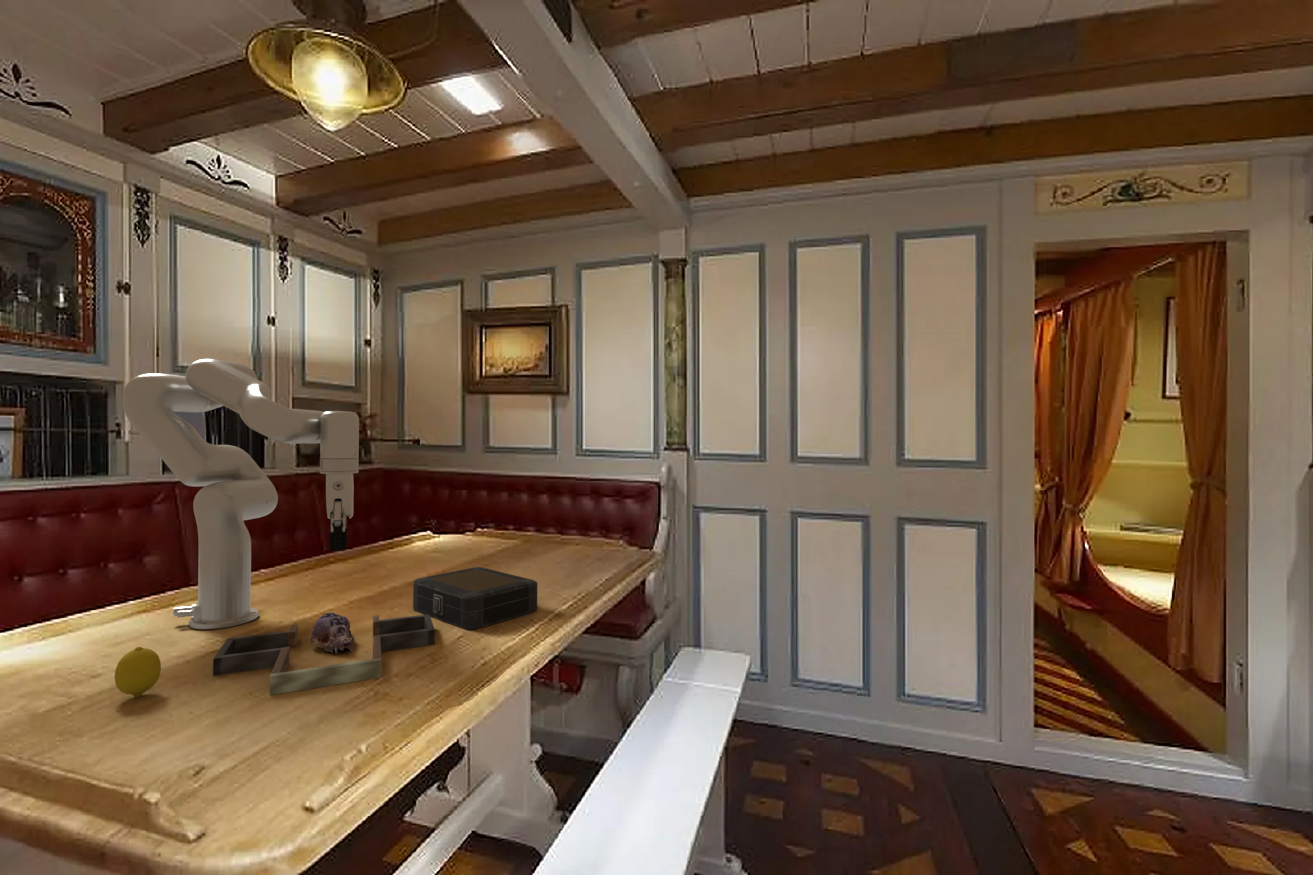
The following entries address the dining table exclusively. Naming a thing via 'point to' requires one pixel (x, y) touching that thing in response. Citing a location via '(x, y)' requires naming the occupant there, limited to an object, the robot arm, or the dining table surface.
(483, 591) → the cash box
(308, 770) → the dining table surface
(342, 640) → the skull
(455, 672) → the dining table surface
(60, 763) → the dining table surface
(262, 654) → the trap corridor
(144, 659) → the lemon
